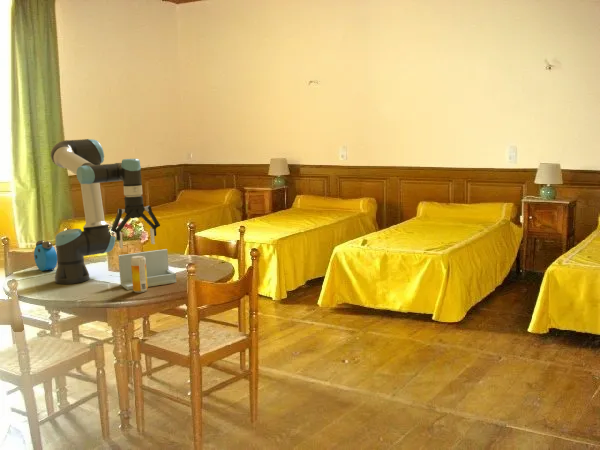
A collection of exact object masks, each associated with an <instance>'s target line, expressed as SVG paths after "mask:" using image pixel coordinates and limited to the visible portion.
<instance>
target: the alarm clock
mask: <svg viewBox="0 0 600 450" xmlns="http://www.w3.org/2000/svg"><path fill="white" fill-rule="evenodd" d="M33 259H34V262H35V265H36V267H37V268H38V270H39V271H41V272H46V271H50V270H53V271H55V268H57V266H58V263H57V253H56V247H54V245H53V243H52V242H50V241H47V240H42V239H39V240H38V241H36V243H35V247H34V250H33Z"/></svg>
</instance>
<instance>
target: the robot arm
mask: <svg viewBox="0 0 600 450" xmlns="http://www.w3.org/2000/svg"><path fill="white" fill-rule="evenodd" d="M50 159H51V160H52V163H53V164H55V165H56V166H57V167H59V168H61V169H63V168H64V169H67V170H68V171H70V172H71V173H73V174H75V175H76V180H78V182H79V184H80V188H81V196H82V204H83V211H84V218H85V224H84V226H83V227H82V228H83V230H82V229H81V228H70V229H66V230H63V231H60V232H58V233H57V234H56V235H55V236H54V237H55V243H54V244H55V251H56V254H57V265H56V272H55V275H54V283H55V284H58V285H72V284H73V285H74V284H78V283H83V282H87V281H88V280H90V273H89V271H88V268H87V266H86V264H85V257H87V256H94V255H101V254H102V255H103V254H106V253H109V252H112V251H113V249H114V247H115V243H116V240H117V241H118V242H119V243H118V245H119V249H124V245H123V244H124V241H123V232H122V230H123V228H124V227H125V226H126V224H127V223H128V221H129V220H130V219H135V218H137V219H138V218H139V219H140V218H141V219H143V220H144V221H145V222H146V224H148V225H149V226H150V227H151V228H149V230H150V231H149V232H150V244H151V245H155V244H156V242H155V237H157V228H158V227H160V226H161V223H159V221H158V219H157V216H155V214H154V212H153V209H152V206H151V205H147V206H144V196H143V185H142V184H143V183H142V167H141V161H140V159H139V158H124V159H122V160H121V162H114V163H106V164H105V163H104V161H105V153H104V149H103V146H102V144H101V143H100V142H99V141H98V140H96V139H95V138H94V139H93V138H92V139H89V138H84V139H71V140H70V139H68V140H67V139H66V140H61V141H59V142H58V143H56V144H55V145H54V146H53V147H52V148H51V151H50ZM111 182H112V183H113V182H122V184H123V196H124V208H117V214H116V216H115V219H114V222H113V224H112V227H111V228H112V229H111V231H113V232H114V233H115V237H113V236H111V235H110V233H109V229H108V226H109V227H110V225H109V223H108V222H107V221H106V220H105V213H104V207H103V205H104V204H103V200H102V199H103V198H102V191H101V183H102V184H103V183H111ZM145 211H146V212H147V213H148V215H149V216H150V218H151V220H152V221H151V220H150V219H149V218H148V217H147V216H146V214H145V213H144V212H145ZM124 213H125V216H124V218H123V219H122V221H121V222H120V220H121V218H122V215H123V214H124ZM119 223H120V224H119Z"/></svg>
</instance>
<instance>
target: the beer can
mask: <svg viewBox="0 0 600 450" xmlns="http://www.w3.org/2000/svg"><path fill="white" fill-rule="evenodd" d="M131 269H132V282H133V289H132V290H133V292H134V293H136V294H137V293H138V294H139V293H146V292H147V291H148V288H149V287H148V286H147V272H146V259H145V257H144V256H133V257H132V258H131Z"/></svg>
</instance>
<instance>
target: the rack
mask: <svg viewBox="0 0 600 450" xmlns="http://www.w3.org/2000/svg"><path fill="white" fill-rule="evenodd" d="M168 253H169V252H168V249H167V248H164V249H157V250H155V249H154V250H149V251H142V252H135V253H134V252H133V253H128V254H127V253H126V254H120V255H119V254H118V268H119V280H120V281H119V283H120V286H121V287H123V288H124V289H126V290H127V291H130V290H133V282H132V269H131V258H132V257H133V256H144V257H145V259H146V272H147V286H148V288H150V287H156V286H160V285H161V286H162V285H167V284H168V285H169V284H173V283H177V273H175V272H173V271H171V270H169V269H170V268H169V256H168Z"/></svg>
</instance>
